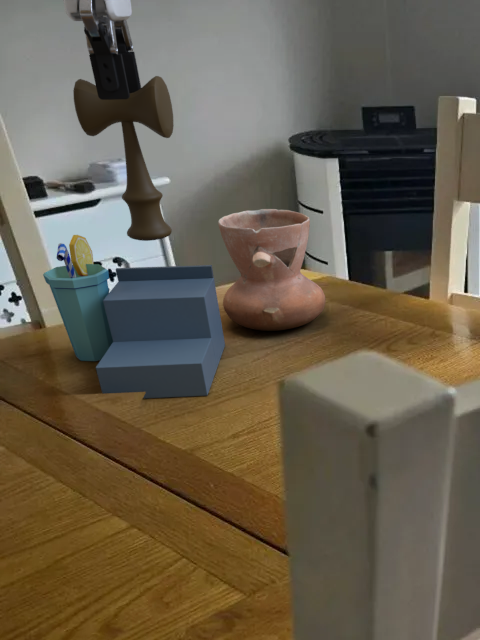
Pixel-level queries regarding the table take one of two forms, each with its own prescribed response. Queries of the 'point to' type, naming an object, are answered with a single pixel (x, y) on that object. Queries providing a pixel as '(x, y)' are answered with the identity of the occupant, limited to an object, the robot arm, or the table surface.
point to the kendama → (132, 145)
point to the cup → (81, 299)
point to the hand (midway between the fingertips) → (120, 94)
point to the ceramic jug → (270, 270)
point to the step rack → (162, 332)
